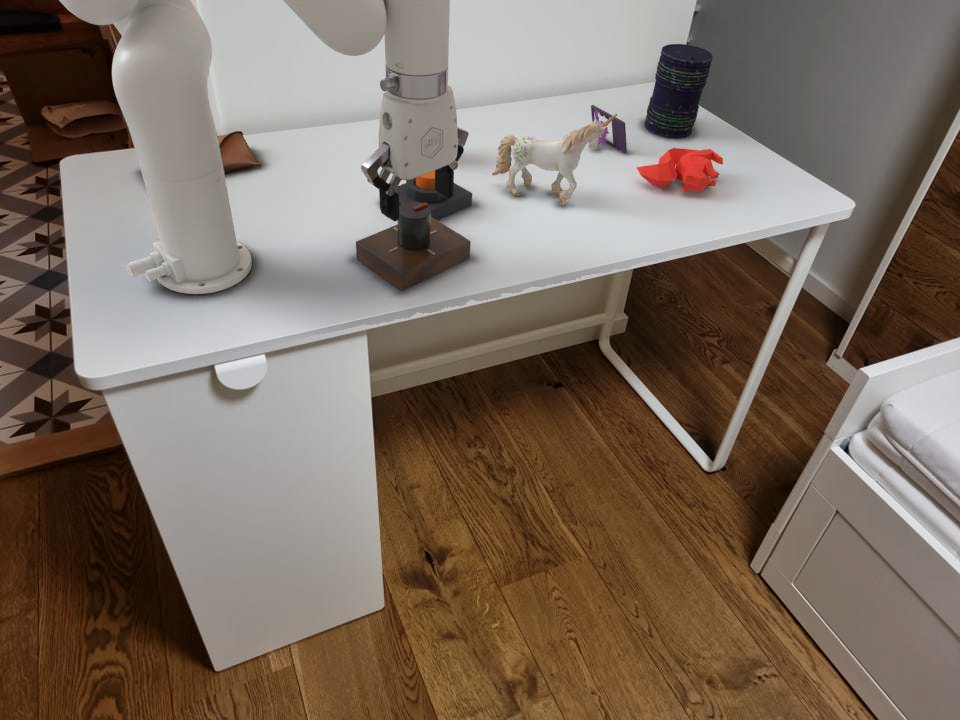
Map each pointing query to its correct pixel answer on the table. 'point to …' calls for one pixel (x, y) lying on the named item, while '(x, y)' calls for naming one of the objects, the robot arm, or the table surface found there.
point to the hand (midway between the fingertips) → (417, 205)
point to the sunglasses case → (235, 152)
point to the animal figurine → (683, 169)
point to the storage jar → (677, 90)
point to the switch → (426, 180)
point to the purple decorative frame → (617, 130)
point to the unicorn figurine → (548, 157)
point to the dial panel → (412, 255)
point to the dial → (414, 225)
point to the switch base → (435, 198)
